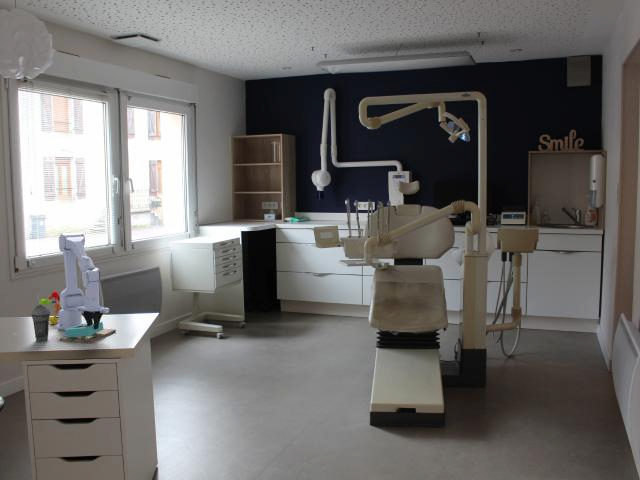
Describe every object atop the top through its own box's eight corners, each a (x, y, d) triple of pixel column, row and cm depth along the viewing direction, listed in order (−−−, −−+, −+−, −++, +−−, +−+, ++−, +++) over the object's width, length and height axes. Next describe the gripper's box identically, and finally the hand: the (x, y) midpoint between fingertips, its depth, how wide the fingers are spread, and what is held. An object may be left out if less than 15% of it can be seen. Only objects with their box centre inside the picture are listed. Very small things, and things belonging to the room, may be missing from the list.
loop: (66, 337, 270) (64, 329, 270) (81, 331, 281) (80, 323, 280) (88, 335, 267) (87, 327, 267) (103, 329, 278) (102, 321, 278)
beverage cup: (39, 344, 265) (37, 296, 263) (28, 341, 269) (26, 294, 267) (54, 340, 271) (52, 293, 269) (44, 337, 275) (42, 292, 273)
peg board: (59, 341, 270) (59, 327, 269) (86, 330, 288) (85, 317, 287) (91, 343, 266) (90, 330, 266) (115, 332, 285) (115, 319, 284)
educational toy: (77, 321, 308) (78, 291, 305) (56, 328, 296) (57, 296, 294) (54, 315, 314) (55, 286, 312) (32, 321, 302) (33, 290, 300)
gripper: (71, 298, 269) (72, 329, 270) (102, 300, 266) (103, 331, 267) (81, 295, 276) (82, 325, 277) (111, 296, 272) (112, 327, 274)
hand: (93, 328), depth 273 cm, fingers closed on loop, 2 cm apart
